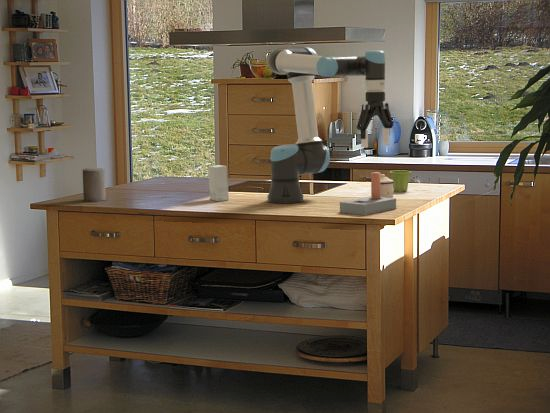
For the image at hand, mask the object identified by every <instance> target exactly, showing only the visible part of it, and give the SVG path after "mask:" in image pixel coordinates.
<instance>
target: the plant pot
mask: <svg viewBox="0 0 550 413" xmlns="http://www.w3.org/2000/svg"><path fill="white" fill-rule="evenodd" d="M389 173H390V176H391V180H393V182H394V183H393V192H402V193H403V192H407V191H408V189H409V188H408V187H409V179H410V176H411V173H412V171H410V170H403V169H402V170H391V171H389Z"/></svg>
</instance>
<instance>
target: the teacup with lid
mask: <svg viewBox="0 0 550 413" xmlns="http://www.w3.org/2000/svg"><path fill="white" fill-rule="evenodd" d="M393 183H394V182H393V180H392V178H389V177H388V176H386V175H385V174H383V173H382V174H381V173H380V187H381V197H385V198H394V190H393Z"/></svg>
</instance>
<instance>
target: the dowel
mask: <svg viewBox="0 0 550 413" xmlns="http://www.w3.org/2000/svg"><path fill="white" fill-rule="evenodd" d="M380 174H381V172H379V171H375V172H373V171H372V172H371V173H370V187H371V188H370V193H371V194H370V196H371V199H372V200H380V199H381V187H380Z"/></svg>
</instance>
